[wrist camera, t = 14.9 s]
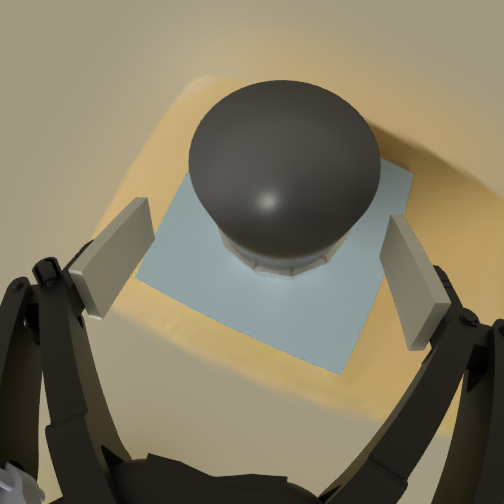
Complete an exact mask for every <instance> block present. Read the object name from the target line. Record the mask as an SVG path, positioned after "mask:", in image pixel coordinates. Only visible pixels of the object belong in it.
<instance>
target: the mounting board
mask: <svg viewBox="0 0 504 504" xmlns="http://www.w3.org/2000/svg"><path fill="white" fill-rule="evenodd" d="M380 161H381V173H380V181H379V185H378V189H377V192H376V194H375V197H374V199H373V201H372V203H371V204H370V206H369V208H368V209H367V211H366V212H365V213H364V214H363V216H362V217H361V218H360V219H359V220H358V221H357V222H356V223H355V225H354V226H353V227H352V228H351V229H350V234H349V236H348V237H347V238H346V240H345V241H344V242H343V244H342V245H341V246H340V248H339V249H338V250H337V252H336V253H335V254H334V256H333V257H332V258H331V260H330V261H329V262H328V263H327V264H326V265H325V266H323V267H322V268H321V269H320V270H317V271H315V272H312V273H310V274H307V275H305V276H302V277H300V278H297V279H294V280H292V281H283V280H277V279H271V278H265V277H259V276H256V275H255V274H254V273H253V272H252V271H250V270H249V269H248V268H247V267H246V266H244V265H243V264H242V263H241V262H240V261H238V260H237V259H236V258H235V257H233V256H232V255H231V253H230V252H229V251H228V250H227V249H226V248H225V247H224V244H223V242H222V239H221V236H220V233H219V230H218V227H217V224H216V223H215V222H214V220H213V219H212V218H211V216H210V215H209V214H208V212H207V211H206V210H205V208H204V207H203V206H202V204H201V202H200V201H199V199H198V197H197V195H196V193H195V191H194V188H193V186H192V182H191V178H190V174H189V171H188V173H187V175H186V176H185V178H184V180H183V182H182V184H181V185H180V187H179V189H178V191H177V193H176V195H175V197H174V198H173V200H172V202H171V204H170V206H169V208H168V210H167V212H166V214H165V216H164V218H163V220H162V222H161V224H160V226H159V228H158V230H157V232H156V234H155V236H154V237H155V240H154V242H153V243H152V244H151V246H150V247H149V249H148V250H147V252H146V255H145V257H144V259H143V261H142V263H141V265H140V268H139V270H138V272H137V274H136V277H135V278H137V279H139V280H140V281H142V282H144V283H146V284H148V285H149V286H151V287H153V288H155V289H157V290H158V291H160V292H162V293H164V294H166V295H168V296H169V297H171V298H173V299H175V300H177V301H179V302H181V303H183V304H185V305H186V306H188V307H190V308H192V309H194V310H196V311H198V312H200V313H202V314H204V315H206V316H208V317H210V318H212V319H214V320H216V321H218V322H220V323H222V324H224V325H226V326H228V327H230V328H232V329H234V330H237V331H239V332H241V333H243V334H245V335H247V336H249V337H251V338H254V339H256V340H258V341H260V342H262V343H265V344H267V345H269V346H271V347H274V348H276V349H278V350H280V351H283V352H285V353H287V354H290V355H292V356H294V357H297V358H299V359H301V360H304V361H306V362H309V363H311V364H313V365H316V366H318V367H321V368H323V369H326V370H328V371H331V372H333V373H336V374H339V375H341V374H342V372H343V370H344V368H345V366H346V364H347V361H348V359H349V357H350V355H351V353H352V351H353V349H354V347H355V344H356V342H357V340H358V338H359V336H360V333H361V331H362V329H363V326H364V324H365V322H366V319H367V317H368V315H369V312H370V310H371V307H372V305H373V302H374V300H375V297H376V295H377V292H378V290H379V287H380V284H381V282H382V279H383V276H384V273H385V272H384V269H383V266H382V264H381V261H380V258H379V255H380V252H381V248H382V245H383V241H384V238H385V234H386V230H387V226H388V222H389V218H390V214H395V215H404V211H405V207H406V204H407V200H408V196H409V192H410V189H411V185H412V180H413V176H414V174H413V173H411V172H409V171H407V170H405V169H403V168H401V167H399V166H397V165H395V164H393V163H391V162H389V161H387V160H385V159H383V158H381V157H380Z"/></svg>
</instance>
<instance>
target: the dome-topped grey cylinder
mask: <svg viewBox="0 0 504 504" xmlns="http://www.w3.org/2000/svg"><path fill="white" fill-rule="evenodd" d="M380 173H381V161H380V154H379V149H378V145H377V142H376V140H375V137H374V135H373V133H372V131H371V129H370V127H369V126H368V124H367V123H366V121H365V120H364V118H363V117H362V116H361V115H360V114H359V113H358V112H357V110H356V109H354V108H353V107H352V106H351V105H350V104H349V103H347V102H346V101H345V100H343V99H342V98H341V97H339V96H338V95H336V94H334V93H332V92H330V91H328V90H326V89H323V88H321V87H319V86H315V85H312V84H309V83H304V82H298V81H287V80H275V81H267V82H260V83H256V84H252V85H249V86H246V87H244V88H241V89H239V90H237V91H235V92H233V93H231V94H229V95H228V96H226V97H225V98H223V99H222V100H221V101H219V102H218V103H217V104H216V105H214V106H213V107H212V108H211V110H210V111H209V112H208V113H207V114H206V115H205V116H204V118H203V119H202V121H201V122H200V124H199V126H198V127H197V129H196V131H195V134H194V136H193V139H192V142H191V146H190V150H189V174H190V178H191V182H192V186H193V188H194V191H195V193H196V195H197V197H198V199H199V201H200V202H201V204H202V206H203V207H204V208H205V210H206V211H207V212H208V214H209V215H210V216H211V218H212V219H213V220H214V222H215V223H216V224H217V226H218V227H219V229H220V230H221V231H222V233H223V234H224V235H225V237H226V238H227V239H228V241H229V242H230V243H231V244H232V246H233V247H234V248H235V249H236V250H237V251H238V252H239V253H240V254H241V255H242V256H244V257H245V258H247V259H248V260H250V261H252V262H254V263H255V264H258V265H261V266H263V267H267V268H272V269H280V270H283V269H295V268H300V267H303V266H306V265H309V264H311V263H313V262H315V261H317V260H318V259H320V258H321V257H323V256H324V255H325V254H326V253H327V252H328V251H329V250H330V249H331V248H332V247H333V246H334V245H335V244H336V243H337V242H338V241H339V240H340V239H341V238H342V237H343V236H344V235H345V234H346V233H347V232H348V231H349V230H350V229H351V228H352V227H353V226H354V225H355V223H356V222H357V221H358V220H359V219H360V218H361V217H362V216H363V214H364V213H365V212H366V211H367V209H368V208H369V206H370V204H371V203H372V201H373V199H374V197H375V194H376V192H377V189H378V185H379V181H380Z"/></svg>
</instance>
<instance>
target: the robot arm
mask: <svg viewBox="0 0 504 504" xmlns="http://www.w3.org/2000/svg"><path fill="white" fill-rule="evenodd" d="M154 240H155V237H154V232H153V227H152V221H151V215H150V210H149V204H148V198H139V197H136V198H135V199H134V200H133V201H132V202H131V203H130V204H129V205H128V206H126V207H125V208H124V209H123V210H122V211H121V212H120V213H119V214H118V215H117V216H116V218H115V219H114V220H113V221H112V222H111V223H110V224H109V225H108V226H107V227H106V228H105V229H104V230H103V231H102V232H101V233H100V234H99V235H98V236H97V237H96V238H95V240H94V239H93V240H91V241H90V242H88V243H87V244H85V245H84V247H82V248H81V250H80V251H79V253H77V254H76V255H75V257H74V258H73V259H72V260H71V261H70V262H69V263H68V264H67V265H66V267H65V268H64V269H63V270H62V271H61V268H60V266H59V264H58V261H57V259H56V258H54V257H48V258H44V259H43V260H40V261H39V262H38V263H36V265H35V266H34V267H33V269H32V272H33V274H34V276H35V278H36V280H37V283H38V284H37V285H31V284H30V282H29V280H28V278H27V277H19V278H16V279H15V280H13V281H12V282H11V283H10V284H9V286H8V288H7V290H6V293H5V295H4V298H3V300H2V303H1V306H0V504H41V502H43V501H44V500H45V494H44V492H43V490H42V489H41V488H39V486H38V484H37V478H38V462H39V461H38V460H39V451H38V425H39V403H40V390H41V380H42V371H43V377H44V385H45V392H46V397H47V404H48V409H49V414H50V419H51V423H50V425H48V426H46V428H45V434H46V440H47V444H48V448H49V452H50V456H51V459H52V463H53V466H54V470H55V473H56V477H57V480H58V483H59V486H60V489H61V492H62V494H63V497H61V498H59V499H57V500H55V501H53V502H51V503H49V504H396V503H397V502H398V500H399V499H400V498H401V496H402V495H403V494H404V492H405V490H406V489H407V486H408V482H407V479H408V477H409V476H410V474H411V472H412V471H413V469H414V468H415V466H416V465H417V463H418V462H419V460H420V459H421V457H422V455H423V454H424V452H425V450H426V448H427V447H428V445H429V444H430V442H431V440H432V438H433V437H434V435H435V433H436V431H437V429H438V427H439V426H440V424H441V422H442V420H443V418H444V416H445V414H446V412H447V410H448V408H449V406H450V404H451V401H452V399H453V397H454V395H455V393H456V390H457V388H458V386H459V383H460V381H461V379H462V376H463V374H464V376H463V384H462V391H461V397H460V403H459V408H458V414H457V419H456V423H455V428H454V432H453V436H452V440H451V444H450V448H449V452H448V455H447V459H446V462H445V466H444V469H443V472H442V475H441V478H440V481H439V484H438V487H437V489H436V492H435V495H434V497H433V500H432V503H431V504H504V320H503V319H497V320H496V321H495V322H494V324H493V325H492V327H491V326H488V325H484V324H481V323H480V322H479V319H478V317H477V316H476V314H475V313H473V312H472V311H471V310H469V309H467V308H463V306H462V304H461V302H460V300H459V298H458V296H457V294H456V292H455V290H454V288H453V286H452V284H451V282H449V279H448V277H447V275H446V273H445V272H444V271H443V270H442V269H441V268H440V267H439V266H435V265H432V264H431V262H430V260H429V258H428V256H427V255H426V253H425V251H424V249H423V247H422V246H421V244H420V242H419V241H418V239H417V237H416V235H415V234H414V232H413V230H412V229H411V227H410V226H409V224H408V222H407V221H406V219H405V218H404V216H403V215H395V214H390V218H389V222H388V226H387V230H386V234H385V238H384V241H383V245H382V248H381V252H380V255H379V258H380V261H381V264H382V266H383V269H384V272H385V275H386V278H387V281H388V284H389V287H390V290H391V293H392V296H393V299H394V302H395V305H396V309H397V312H398V315H399V319H400V322H401V326H402V329H403V333H404V336H405V340H406V344H407V348H408V351H416V350H424V349H425V347H426V346H427V344H428V342H429V341H430V344H431V347H432V349H431V350H430V352H429V353H428V355H427V356H426V358H425V359H424V361H423V362H422V363H421V364H422V366H421V368H420V369H419V371H418V373H417V374H416V376H415V378H414V379H413V381H412V382H411V384H410V386H409V387H408V389H407V390H406V392H405V393H404V395H403V397H402V398H401V400H400V401H399V403H398V404H397V405H396V407H395V408H394V410H393V411H392V413H391V414H390V415H389V417H388V418H387V420H386V421H385V422H384V424H383V425H382V426H381V428H380V429H379V430H378V432H377V433H376V434H375V436H374V437H373V438H372V440H371V441H370V442H369V443H368V444H367V446H366V447H365V448H364V449H363V451H362V452H361V453H360V454H359V456H357V458H356V459H355V460H354V461H353V462H352V463H351V465H350V466H349V467H348V468H347V469H346V470H345V471H344V472H343V473H342V474H341V475H340V476H339V477H338V478H337V479H336V480H335V481H334V482H333V483H332V484H331V485H330V486H329V487H328V488H326V489H325V490H324V491H323V492H322V494H320V495H319V496H318V497H316V496H315V495H314V494H312V493H311V492H309V491H308V490H306V489H304V488H302V487H300V486H298V485H296V484H293V483H289V482H287V477H286V476H284V477H283V476H269V475H258V474H246V475H236V476H221V477H213V476H210V475H208V474H206V473H203V472H201V471H199V470H197V469H195V468H192V467H190V466H188V465H186V464H184V463H182V462H180V461H176V460H172V459H168V458H164V457H161V456H157V455H153V454H150V453H148V456H147V459H136V460H132V459H131V457H130V455H129V453H128V452H127V450H126V449H125V448H124V446H123V444H122V443H121V440H120V438H119V436H118V433H117V431H116V428H115V425H114V423H113V420H112V417H111V415H110V412H109V409H108V406H107V403H106V400H105V397H104V395H103V391H102V388H101V385H100V381H99V378H98V375H97V371H96V368H95V364H94V360H93V356H92V352H91V349H90V344H89V340H88V336H87V331H86V327H85V322H84V318H83V316H82V314H81V313H82V311H83V310H84V309H86V311H87V313H88V315H89V317H92V318H96V319H100V320H103V318H104V316H105V315H106V313H107V312H108V310H109V308H110V307H111V305H112V304H113V302H114V300H115V299H116V297H117V296H118V294H119V292H120V291H121V289H122V288H123V286H124V285H125V283H126V282H127V280H128V279H129V277H130V275H131V274H132V272H133V271H134V269H135V268H136V266H137V265H138V263H139V262H140V260H141V259H142V258H143V256H144V255H145V253H146V252H147V250H148V249H149V247H150V246H151V244H152V243H153V242H154ZM24 322H25V326H24Z"/></svg>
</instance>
